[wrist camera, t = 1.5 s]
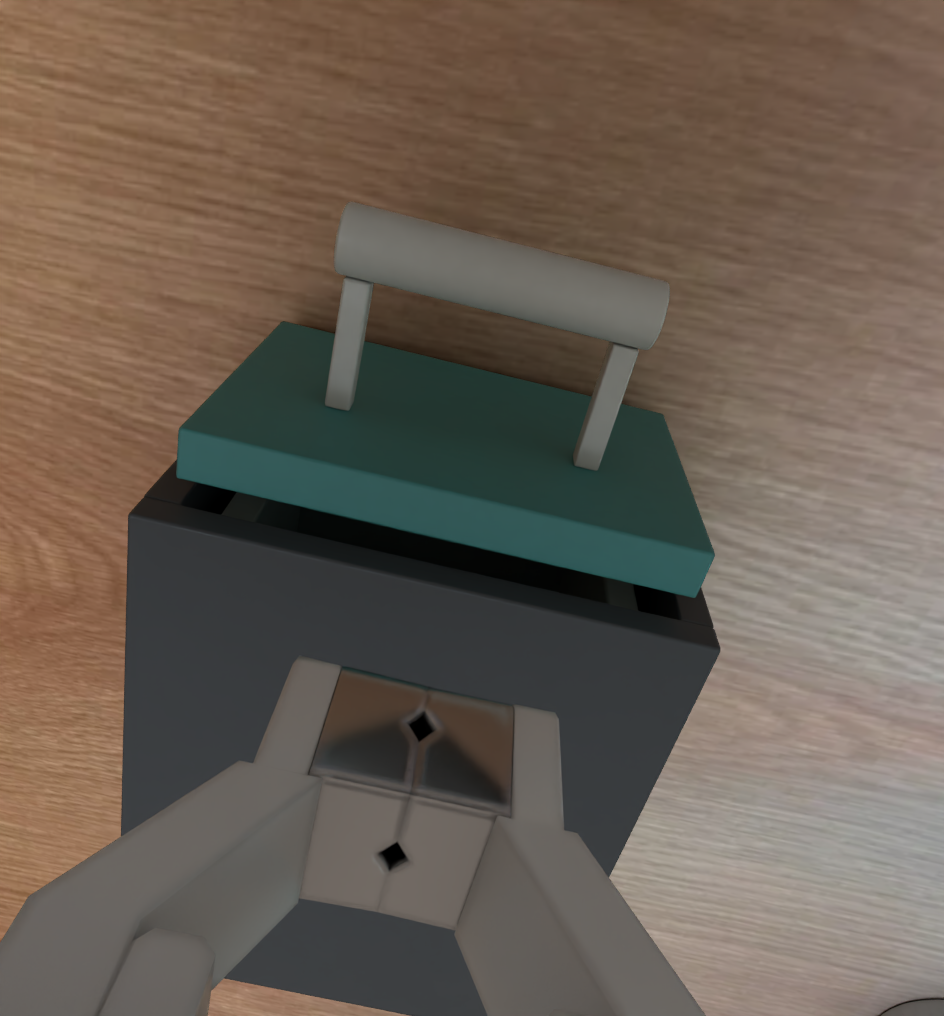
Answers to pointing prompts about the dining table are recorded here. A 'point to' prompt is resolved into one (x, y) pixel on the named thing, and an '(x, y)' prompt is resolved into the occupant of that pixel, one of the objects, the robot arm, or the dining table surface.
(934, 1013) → the coffee cup
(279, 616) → the drawer cabinet
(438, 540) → the teal drawer
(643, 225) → the dining table surface
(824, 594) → the dining table surface
